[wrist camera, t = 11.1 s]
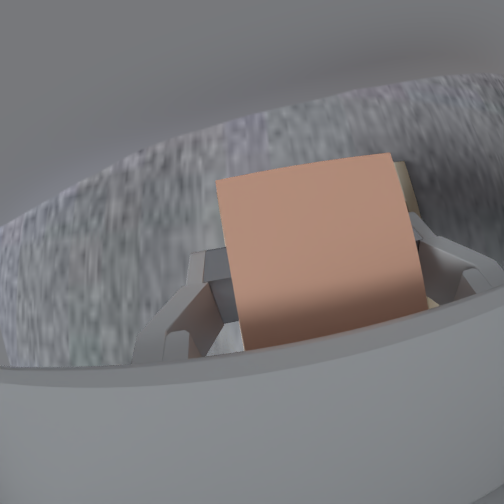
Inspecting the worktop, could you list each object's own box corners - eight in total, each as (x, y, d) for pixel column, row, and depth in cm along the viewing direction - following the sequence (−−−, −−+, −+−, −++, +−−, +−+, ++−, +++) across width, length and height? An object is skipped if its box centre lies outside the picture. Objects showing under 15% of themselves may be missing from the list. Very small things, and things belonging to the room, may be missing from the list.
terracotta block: (323, 236, 19) (389, 152, 7) (338, 309, 18) (430, 327, 7) (251, 250, 19) (215, 180, 7) (264, 323, 19) (248, 370, 7)
